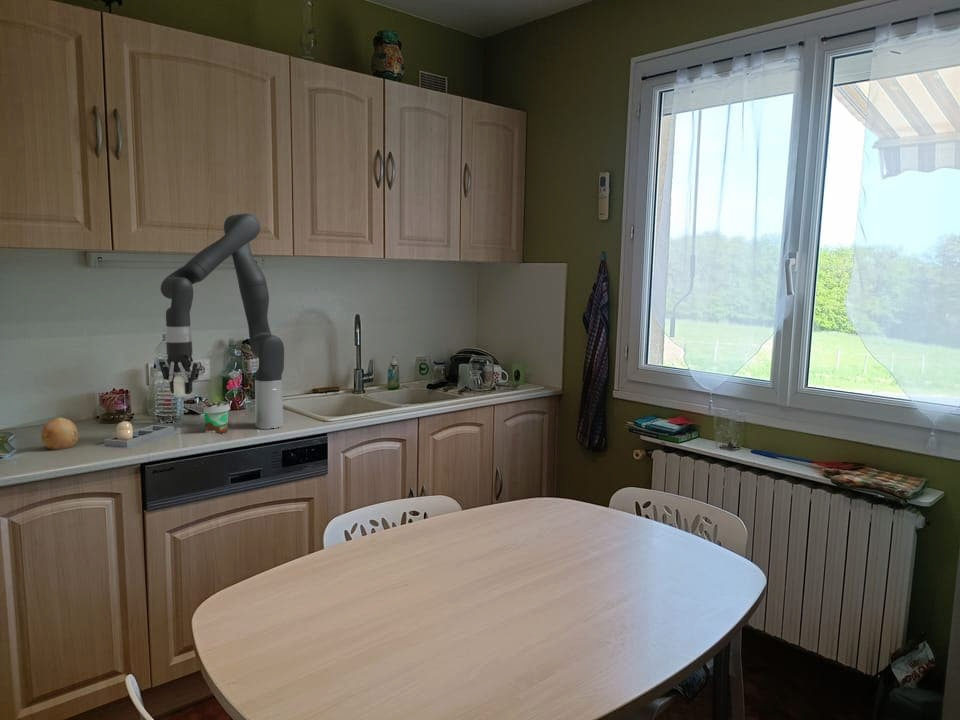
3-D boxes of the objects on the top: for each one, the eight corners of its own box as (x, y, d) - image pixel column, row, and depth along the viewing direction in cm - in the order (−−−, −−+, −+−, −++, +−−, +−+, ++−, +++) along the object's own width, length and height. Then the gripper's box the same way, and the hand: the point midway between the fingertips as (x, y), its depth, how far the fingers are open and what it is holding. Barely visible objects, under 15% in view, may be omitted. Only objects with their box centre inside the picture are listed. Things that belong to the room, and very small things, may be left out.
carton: (149, 432, 228) (149, 424, 228) (181, 434, 226) (180, 426, 226) (96, 449, 205) (96, 440, 205) (130, 451, 203) (130, 442, 202)
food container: (222, 437, 223) (221, 407, 222) (204, 436, 224) (203, 407, 222) (236, 428, 236) (235, 401, 234) (219, 428, 236) (218, 400, 235)
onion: (73, 453, 199) (71, 421, 198) (35, 455, 197) (33, 421, 196) (84, 445, 209) (83, 414, 207) (49, 446, 206) (47, 415, 205)
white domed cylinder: (179, 394, 217) (178, 372, 216) (191, 394, 216) (191, 373, 215) (170, 396, 212) (170, 374, 211) (183, 397, 211) (182, 375, 210)
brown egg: (124, 441, 211) (123, 419, 210) (136, 442, 210) (135, 420, 209) (113, 444, 207) (112, 422, 206) (126, 445, 206) (125, 423, 205)
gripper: (206, 340, 214) (208, 392, 216) (166, 338, 217) (169, 390, 219) (191, 342, 207) (194, 396, 209) (151, 340, 209) (153, 394, 212)
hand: (181, 393), depth 214 cm, fingers closed on white domed cylinder, 4 cm apart
